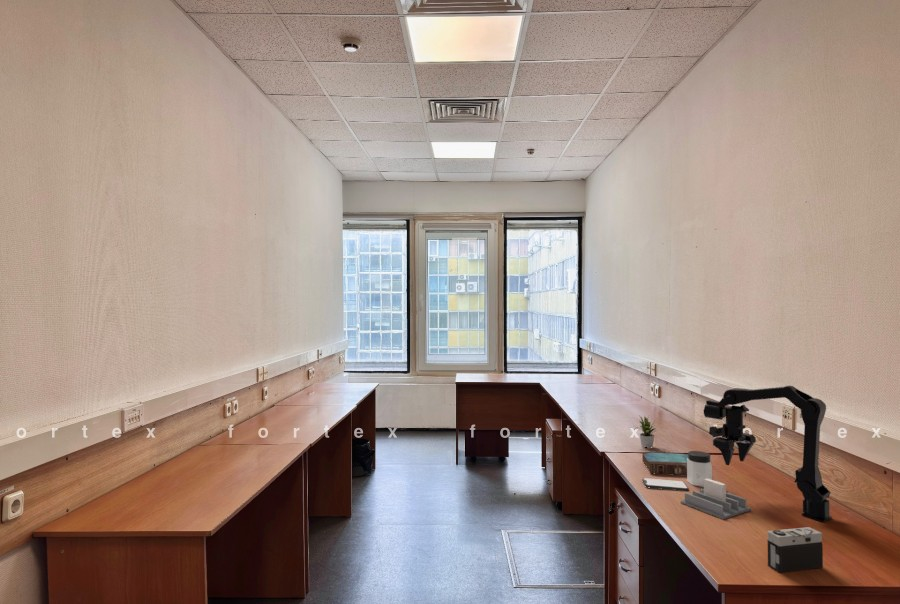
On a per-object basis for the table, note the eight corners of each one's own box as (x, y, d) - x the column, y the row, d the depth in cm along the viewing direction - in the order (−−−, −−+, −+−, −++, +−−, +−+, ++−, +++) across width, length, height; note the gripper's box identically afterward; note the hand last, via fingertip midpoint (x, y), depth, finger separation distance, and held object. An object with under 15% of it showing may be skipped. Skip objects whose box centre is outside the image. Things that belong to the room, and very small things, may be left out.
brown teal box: (649, 475, 214) (649, 463, 214) (641, 462, 231) (641, 451, 231) (707, 478, 210) (707, 466, 210) (693, 465, 228) (693, 454, 228)
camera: (798, 554, 144) (797, 519, 144) (824, 568, 136) (824, 531, 136) (755, 558, 142) (755, 523, 142) (779, 573, 134) (779, 536, 134)
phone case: (683, 485, 202) (641, 481, 206) (683, 481, 202) (641, 477, 206) (689, 493, 194) (645, 489, 197) (689, 488, 194) (645, 485, 197)
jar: (686, 484, 201) (686, 454, 201) (687, 478, 208) (687, 449, 208) (711, 488, 197) (711, 457, 197) (712, 482, 204) (712, 452, 204)
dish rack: (750, 510, 175) (750, 499, 176) (722, 519, 168) (722, 508, 168) (708, 495, 190) (708, 485, 190) (680, 503, 182) (680, 492, 182)
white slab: (725, 507, 176) (725, 484, 176) (722, 508, 175) (722, 485, 175) (707, 500, 182) (707, 478, 182) (703, 501, 181) (703, 479, 182)
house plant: (624, 443, 261) (624, 412, 262) (646, 441, 266) (646, 410, 266) (642, 451, 248) (642, 418, 248) (665, 449, 252) (665, 416, 252)
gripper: (727, 415, 202) (728, 454, 202) (699, 420, 193) (699, 461, 192) (756, 420, 192) (756, 461, 192) (727, 426, 183) (728, 469, 183)
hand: (734, 463), depth 190 cm, fingers open, 9 cm apart
